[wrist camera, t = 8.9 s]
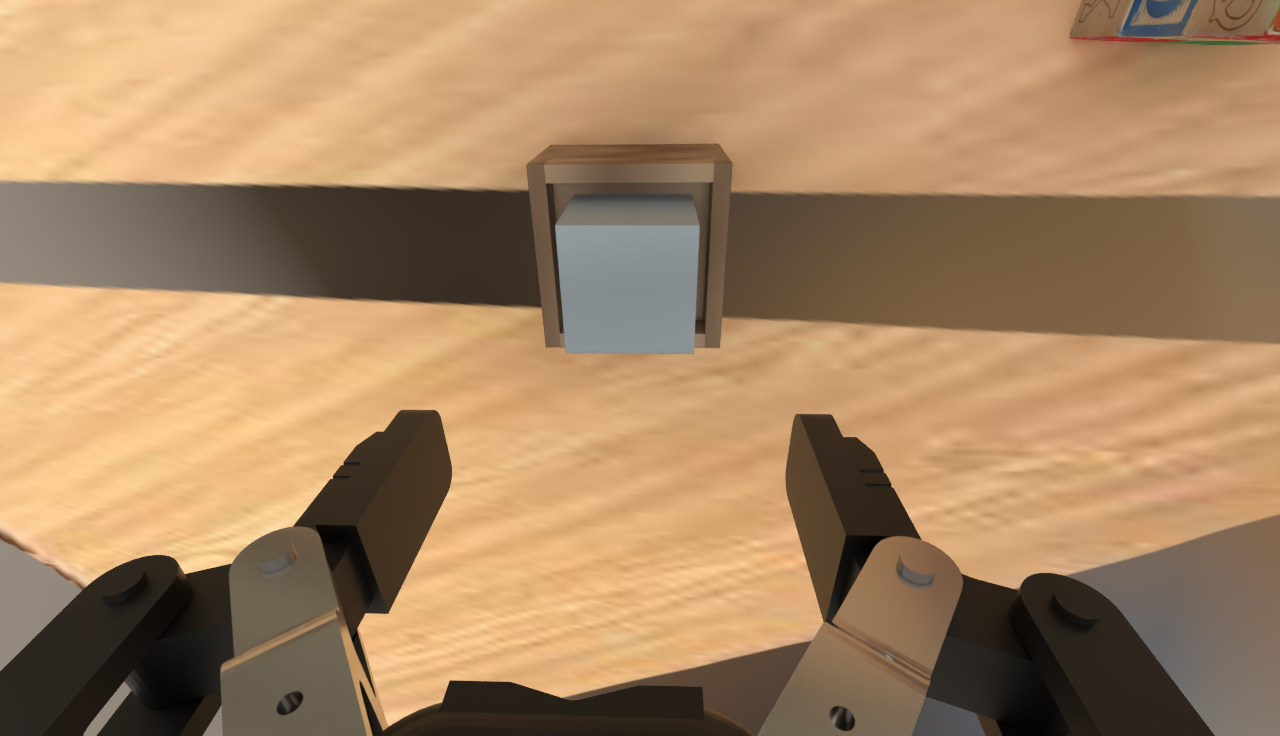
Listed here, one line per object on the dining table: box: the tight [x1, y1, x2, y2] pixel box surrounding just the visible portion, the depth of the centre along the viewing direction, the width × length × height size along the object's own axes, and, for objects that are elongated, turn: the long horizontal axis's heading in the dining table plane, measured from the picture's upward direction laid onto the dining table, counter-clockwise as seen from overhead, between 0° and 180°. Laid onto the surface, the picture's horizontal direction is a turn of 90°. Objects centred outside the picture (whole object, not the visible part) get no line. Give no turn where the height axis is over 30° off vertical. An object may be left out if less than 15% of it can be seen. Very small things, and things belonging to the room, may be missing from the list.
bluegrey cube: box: [555, 194, 700, 354], centre depth 22 cm, size 5×5×5 cm
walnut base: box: [526, 144, 732, 348], centre depth 26 cm, size 8×8×6 cm
